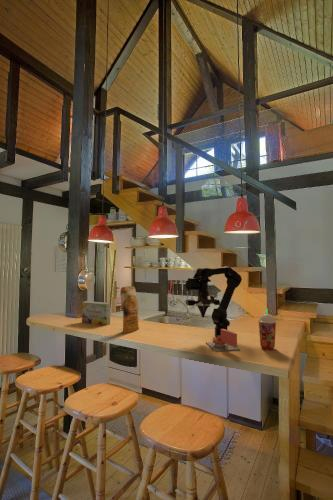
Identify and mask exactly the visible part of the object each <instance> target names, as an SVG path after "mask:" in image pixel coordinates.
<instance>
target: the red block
mask: <svg viewBox="0 0 333 500" xmlns="http://www.w3.org/2000/svg"><path fill="white" fill-rule="evenodd" d="M212 342H213V343H215V344H228V345H231V346H233V347H238V333H236V332H234V331H231V330H228V329H227V330H225V329H221V335H218V336H216V337H215V338H213V339H212Z"/></svg>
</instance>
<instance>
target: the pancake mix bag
mask: <svg viewBox="0 0 333 500" xmlns="http://www.w3.org/2000/svg"><path fill="white" fill-rule="evenodd" d="M120 299H121V303H120V304H121V309H122V321H123V322H122V334H129V333H130V334H131V333H133V332H135V331H138V330H139V329H140V327H139V305H138V304H139V303H138V295H137V289H136V287H135V285H131V286H130V285H129V286H123V287H121V288H120Z"/></svg>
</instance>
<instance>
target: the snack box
mask: <svg viewBox="0 0 333 500" xmlns="http://www.w3.org/2000/svg"><path fill="white" fill-rule="evenodd" d="M81 323H82V324H83V323H84V324H90V325H91V324H92V325H99V326H108V325H110V324H111V302H101V301H89V300H88V301H87V300H85V301H82V302H81Z"/></svg>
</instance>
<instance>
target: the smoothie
mask: <svg viewBox="0 0 333 500" xmlns="http://www.w3.org/2000/svg"><path fill="white" fill-rule="evenodd" d="M265 309H266V310H265V312H266V313H263V314H262V315H260V316H259V319H258V329H259V342H260V346H261V349H263V350H265V349H268V350H267V351H272V350H271V349H273V350H274V348H275V347H276V346H275V345H276V332H277V331H276V330H277V329H276V328H277V321H276V319H275V318H274V316H273V315H271V314H270V313H269V312H268V311H269V310H268V308H265Z"/></svg>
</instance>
